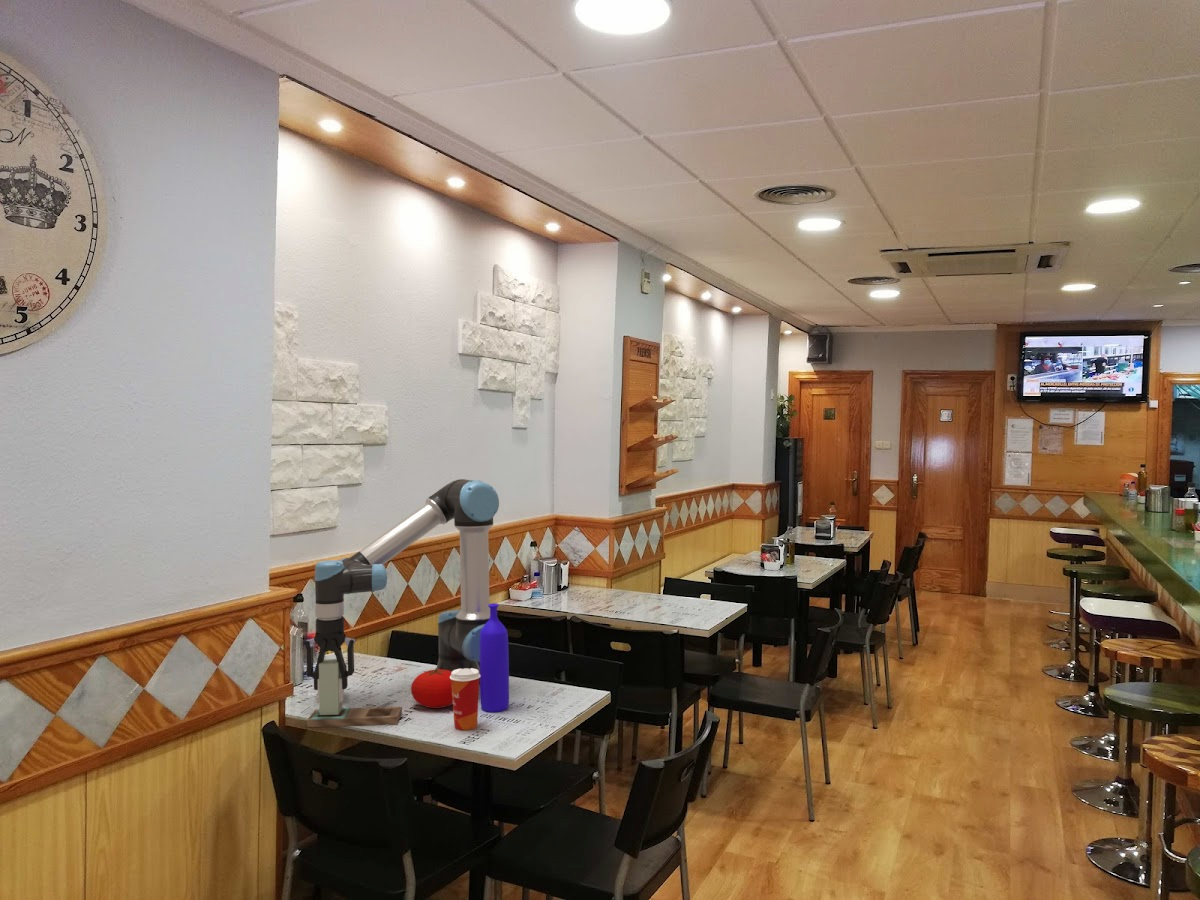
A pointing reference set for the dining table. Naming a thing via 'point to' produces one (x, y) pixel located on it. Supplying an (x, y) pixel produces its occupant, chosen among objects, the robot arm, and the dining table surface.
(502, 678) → the bottle
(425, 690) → the tomato
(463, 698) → the coffee cup
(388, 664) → the dining table surface
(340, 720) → the wooden board
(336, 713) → the block
